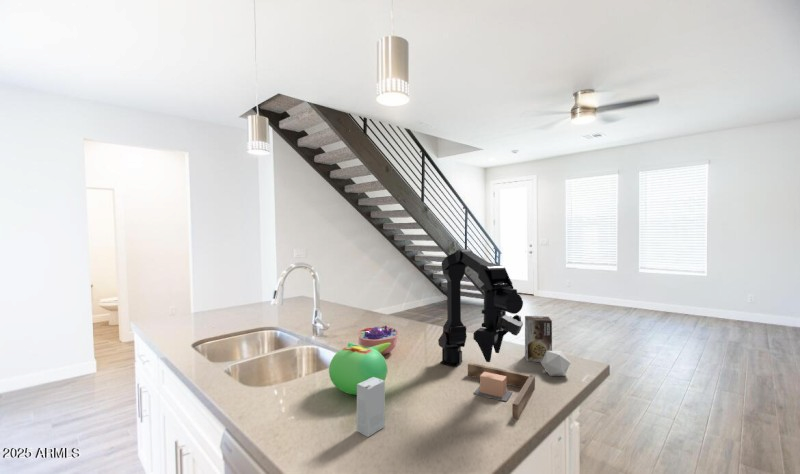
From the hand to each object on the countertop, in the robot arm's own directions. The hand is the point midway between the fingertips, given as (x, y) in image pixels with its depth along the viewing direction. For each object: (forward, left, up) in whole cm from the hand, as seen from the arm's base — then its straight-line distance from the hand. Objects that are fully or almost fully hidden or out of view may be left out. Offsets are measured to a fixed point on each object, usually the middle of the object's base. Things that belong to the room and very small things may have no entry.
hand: (492, 357), depth 111 cm
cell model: (-51, +12, -11) cm, 53 cm away
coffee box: (+6, +38, -11) cm, 40 cm away
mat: (0, 0, -11) cm, 11 cm away
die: (+14, +26, -11) cm, 31 cm away
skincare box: (-20, -36, -11) cm, 43 cm away
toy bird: (-36, -20, -11) cm, 43 cm away
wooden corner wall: (-1, -1, -11) cm, 11 cm away
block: (0, -1, -11) cm, 11 cm away
